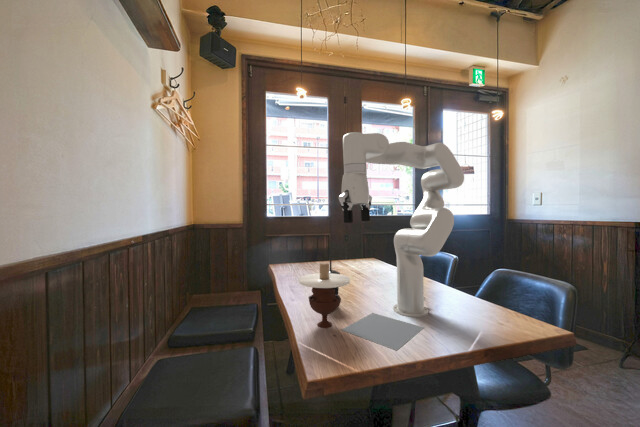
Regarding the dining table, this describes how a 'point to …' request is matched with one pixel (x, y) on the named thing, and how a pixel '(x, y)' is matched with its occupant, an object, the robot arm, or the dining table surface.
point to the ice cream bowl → (324, 304)
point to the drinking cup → (334, 273)
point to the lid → (324, 279)
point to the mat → (383, 330)
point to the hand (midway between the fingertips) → (357, 221)
